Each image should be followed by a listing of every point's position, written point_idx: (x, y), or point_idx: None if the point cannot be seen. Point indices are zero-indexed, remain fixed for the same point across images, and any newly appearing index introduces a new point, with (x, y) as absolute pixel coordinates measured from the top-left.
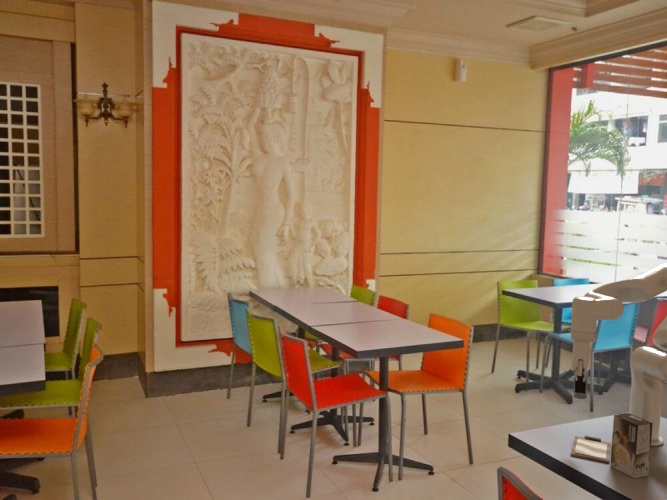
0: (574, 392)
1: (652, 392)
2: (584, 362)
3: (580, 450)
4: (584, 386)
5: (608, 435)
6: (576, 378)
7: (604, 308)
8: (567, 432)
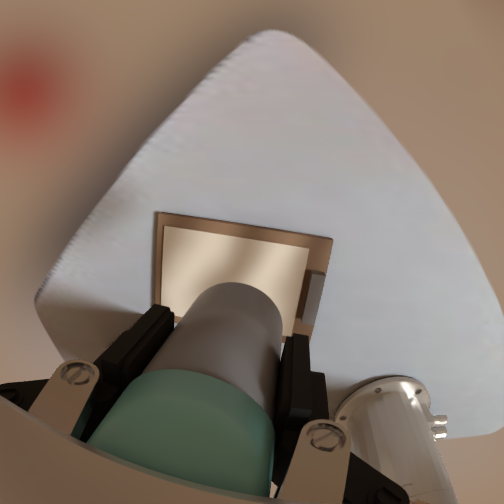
0: (203, 299)
1: None
2: None
3: (188, 246)
4: None
5: (392, 343)
6: (57, 378)
7: None
8: (383, 217)
